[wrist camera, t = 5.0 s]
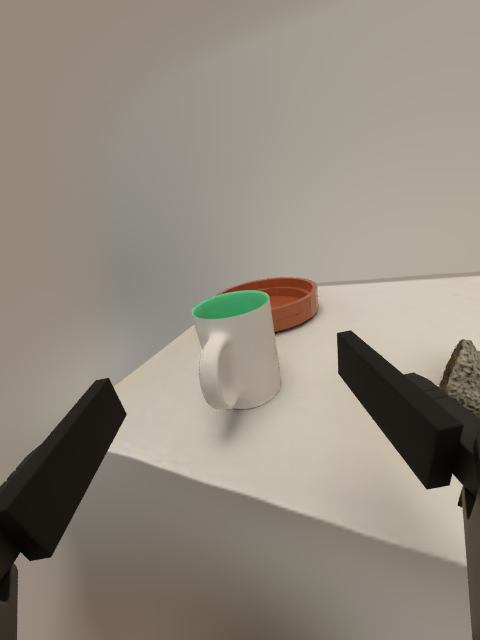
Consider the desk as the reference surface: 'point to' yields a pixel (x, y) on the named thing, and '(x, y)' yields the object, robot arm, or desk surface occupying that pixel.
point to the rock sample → (463, 376)
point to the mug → (237, 350)
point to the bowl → (285, 299)
